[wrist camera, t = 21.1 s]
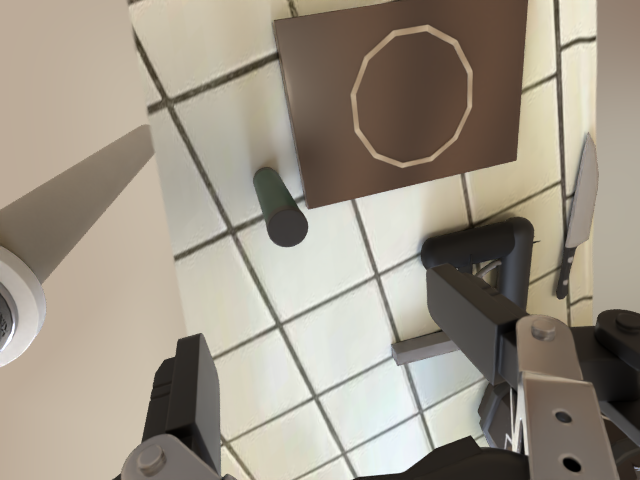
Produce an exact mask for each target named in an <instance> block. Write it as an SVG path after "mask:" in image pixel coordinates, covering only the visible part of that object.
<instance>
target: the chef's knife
mask: <svg viewBox="0 0 640 480" xmlns="http://www.w3.org/2000/svg"><path fill="white" fill-rule="evenodd" d="M598 177H599V173H598V164H597V156H596V148H595V144H594V142H593V140H592V138H591V136H590V134H589V132H588V135H587V139H586V143H585V147H584V151H583V156H582V161H581V165H580V170H579V175H578V180H577V186H576V191H575V196H574V202H573V207H572V212H571V218H570V223H569V229H568V234H567V239H566V245H565V248H564V254H563V260H562V266H561V272H560V277H559V282H558V287H557V291H556V294H557V298H558V299H559V300H560V299H564V298H565V296H566V295H567V294H568V278H569V273H570V269H571V265H572V261H573V258H574V254H575V250H576V248H577V246H578V245H580V244H581V243H583V242H585V241H586V240H588V239H589V233H590V228H591V222H592V217H593V211H594V206H595V200H596V195H597V189H598Z"/></svg>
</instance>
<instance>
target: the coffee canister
mask: <svg viewBox="0 0 640 480" xmlns="http://www.w3.org/2000/svg"><path fill="white" fill-rule="evenodd" d="M510 390H511V385H510V384H509V383H508V382H507V381H505V382H502V383H499V384H497V385H494V386H493V385H492V384H491V383H490V382H489V384H488V386H487V389H486V391H485V394H484V396H483V399H482V402H481V404H480V407H479V409H478V413H479V415H480V417H481V420H480V423H479V424H480V426H481V428H482V431H483V433H484V435H485V437H486V439H487V442H488V444H489V446H490V447H494V448H501V449H506V450H510V451H512V426H511V402H510ZM601 413H602V412H601ZM602 417H603V421H604V424H605V428H606V431H607V435H608V439H609V442H610V446H611V449H612V453H613V457H614V460H615V464H616V467H617V471H618V475H619V478H620V480H640V447H639V446H638V445H637V444H636V443H634V442H633V441H632V440H631V439H630V438H629V437H628V436H627V435H626V434H625V433H624V432H623V431H622V430H620V429H619V428H618V427H617V426H616V425H615V424H614V423H613V422H612V421H611V420H610V419H609V418H608V417H607V416H605V415H604V414H603V413H602Z"/></svg>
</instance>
